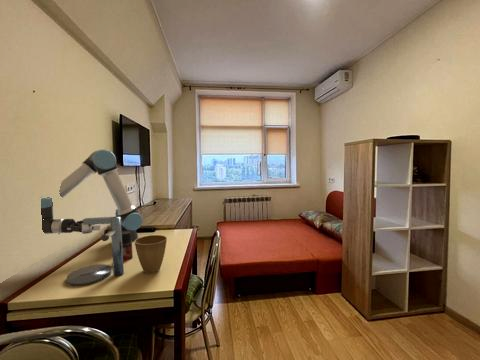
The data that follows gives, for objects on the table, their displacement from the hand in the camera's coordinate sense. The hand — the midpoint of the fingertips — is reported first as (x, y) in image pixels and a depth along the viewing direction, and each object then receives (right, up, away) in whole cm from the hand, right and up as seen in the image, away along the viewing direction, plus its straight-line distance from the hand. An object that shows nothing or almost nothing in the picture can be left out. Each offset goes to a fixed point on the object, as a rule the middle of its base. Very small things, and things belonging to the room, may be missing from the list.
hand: (106, 224), depth 132 cm
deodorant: (+10, -20, +3) cm, 23 cm away
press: (+7, -22, -20) cm, 30 cm away
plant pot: (+30, -21, -13) cm, 39 cm away
